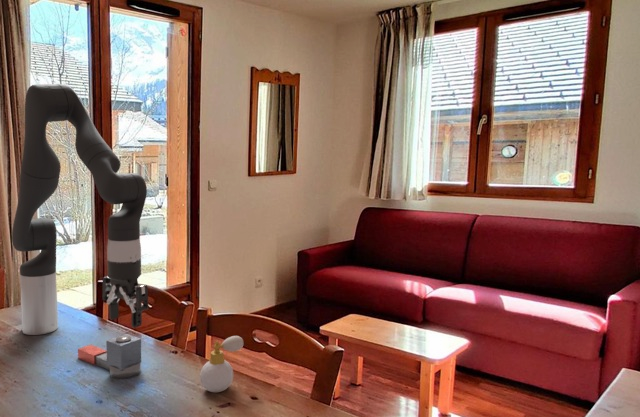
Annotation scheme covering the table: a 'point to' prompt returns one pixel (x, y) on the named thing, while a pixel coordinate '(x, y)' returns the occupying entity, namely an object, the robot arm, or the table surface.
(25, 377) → the table surface
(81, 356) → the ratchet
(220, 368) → the perfume bottle
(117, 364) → the cube with chrome knob
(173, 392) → the table surface
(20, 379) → the table surface
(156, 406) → the table surface
